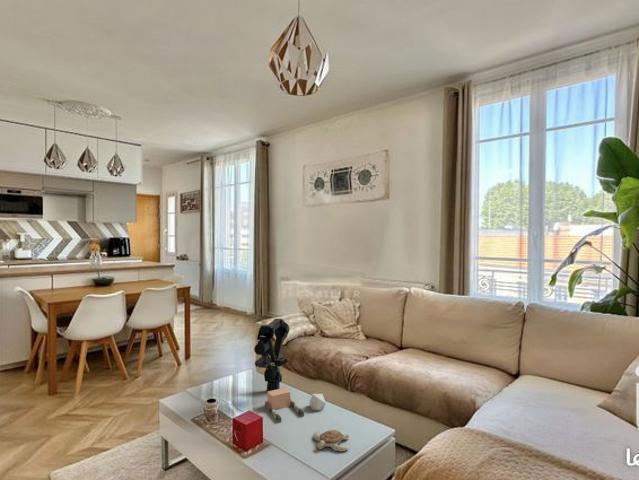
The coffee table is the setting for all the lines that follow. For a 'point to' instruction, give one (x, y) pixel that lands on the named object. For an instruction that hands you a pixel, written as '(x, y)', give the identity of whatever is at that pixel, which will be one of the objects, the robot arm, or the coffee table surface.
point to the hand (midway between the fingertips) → (274, 377)
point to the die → (317, 402)
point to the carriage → (278, 398)
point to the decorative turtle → (331, 440)
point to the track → (277, 413)
